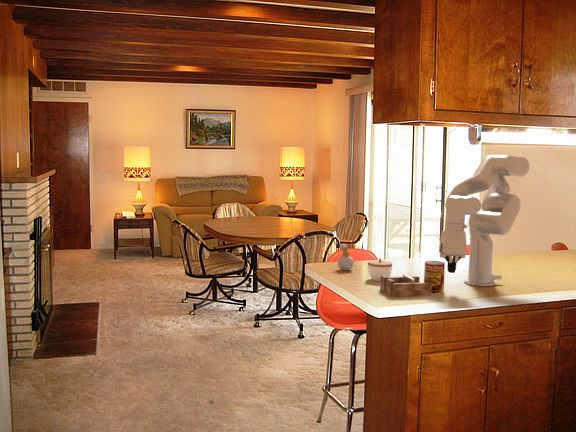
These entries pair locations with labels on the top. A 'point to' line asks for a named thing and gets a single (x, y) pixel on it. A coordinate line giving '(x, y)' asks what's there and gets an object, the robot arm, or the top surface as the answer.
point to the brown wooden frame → (404, 287)
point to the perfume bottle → (345, 259)
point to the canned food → (435, 275)
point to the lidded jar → (379, 269)
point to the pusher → (408, 279)
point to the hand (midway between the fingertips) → (451, 272)
